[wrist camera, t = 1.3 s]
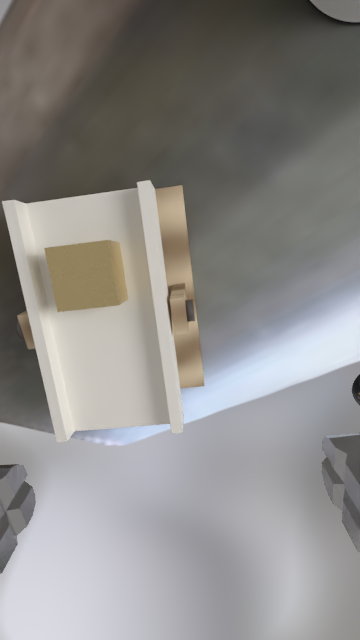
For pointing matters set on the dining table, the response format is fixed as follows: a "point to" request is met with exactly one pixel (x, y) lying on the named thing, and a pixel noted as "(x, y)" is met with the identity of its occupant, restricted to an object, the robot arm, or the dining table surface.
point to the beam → (101, 314)
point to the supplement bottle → (356, 389)
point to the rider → (87, 275)
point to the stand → (177, 284)
